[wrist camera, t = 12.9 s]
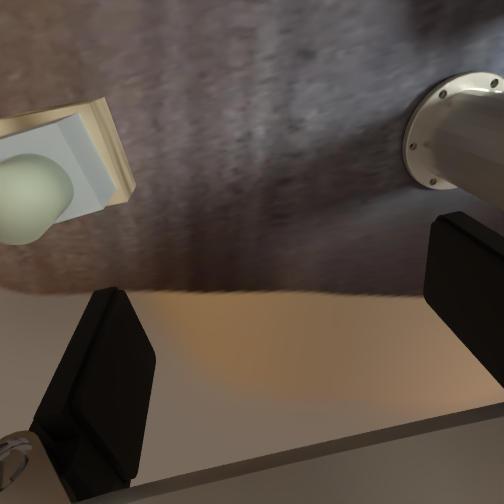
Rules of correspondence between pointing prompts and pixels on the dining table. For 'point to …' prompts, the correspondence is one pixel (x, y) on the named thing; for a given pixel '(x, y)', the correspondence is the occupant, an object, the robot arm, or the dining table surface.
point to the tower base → (99, 130)
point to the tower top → (66, 160)
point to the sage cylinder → (31, 197)
